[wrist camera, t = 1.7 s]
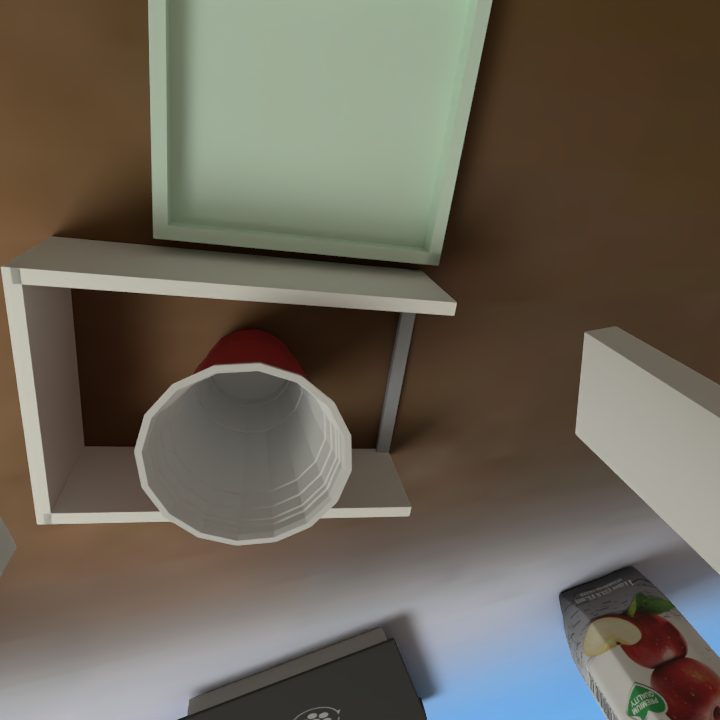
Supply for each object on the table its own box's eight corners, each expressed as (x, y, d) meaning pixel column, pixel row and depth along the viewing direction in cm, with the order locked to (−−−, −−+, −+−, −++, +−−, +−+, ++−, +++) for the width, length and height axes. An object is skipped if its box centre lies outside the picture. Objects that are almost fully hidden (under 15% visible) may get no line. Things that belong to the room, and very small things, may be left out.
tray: (158, 231, 32) (153, 238, 30) (153, -88, 25) (146, -103, 24) (429, 258, 36) (438, 265, 34) (481, -12, 29) (496, -20, 28)
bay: (73, 455, 37) (37, 524, 31) (51, 236, 31) (0, 266, 24) (385, 457, 42) (409, 516, 36) (421, 270, 36) (457, 302, 30)
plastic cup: (213, 259, 33) (195, 328, 22) (352, 336, 37) (393, 424, 26) (139, 392, 36) (92, 509, 25) (276, 450, 40) (286, 571, 29)
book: (235, 766, 57) (234, 798, 54) (175, 692, 50) (171, 724, 47) (420, 695, 58) (428, 723, 55) (386, 612, 51) (394, 640, 48)
